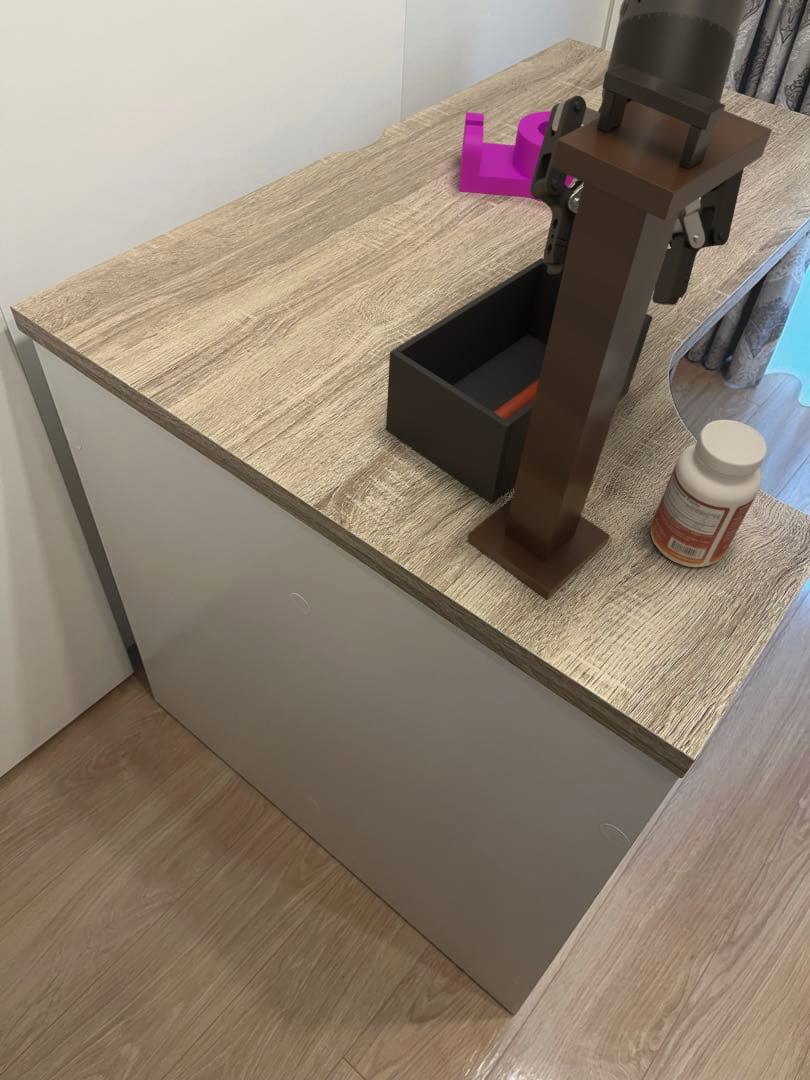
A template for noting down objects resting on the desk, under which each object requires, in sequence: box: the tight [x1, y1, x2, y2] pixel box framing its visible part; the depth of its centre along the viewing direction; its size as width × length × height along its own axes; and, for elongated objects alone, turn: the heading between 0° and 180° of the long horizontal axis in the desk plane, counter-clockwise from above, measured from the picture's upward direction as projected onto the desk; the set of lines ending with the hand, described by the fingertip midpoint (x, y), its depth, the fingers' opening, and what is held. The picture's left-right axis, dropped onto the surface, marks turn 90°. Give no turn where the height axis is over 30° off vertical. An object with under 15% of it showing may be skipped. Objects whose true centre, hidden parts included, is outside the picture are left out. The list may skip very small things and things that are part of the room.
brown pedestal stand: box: [467, 64, 773, 600], centre depth 56 cm, size 11×8×35 cm
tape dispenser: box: [458, 110, 574, 202], centre depth 103 cm, size 16×10×6 cm, turn 86°
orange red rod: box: [494, 379, 539, 420], centre depth 77 cm, size 17×2×2 cm, turn 137°
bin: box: [385, 257, 654, 504], centre depth 75 cm, size 20×12×9 cm, turn 137°
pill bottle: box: [650, 419, 768, 568], centre depth 65 cm, size 6×6×11 cm
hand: (612, 289), depth 59 cm, fingers open, 8 cm apart
